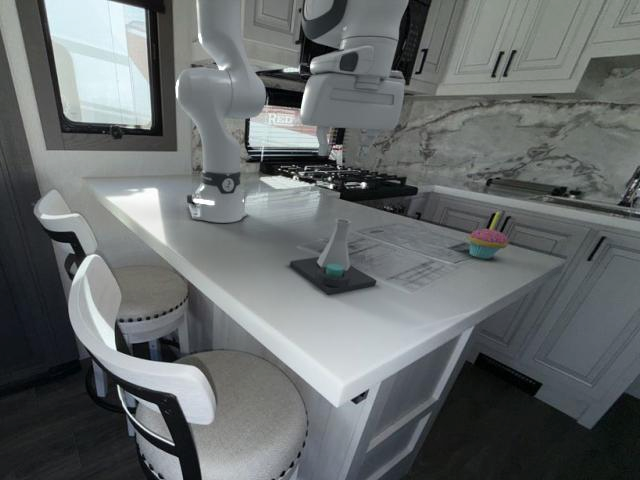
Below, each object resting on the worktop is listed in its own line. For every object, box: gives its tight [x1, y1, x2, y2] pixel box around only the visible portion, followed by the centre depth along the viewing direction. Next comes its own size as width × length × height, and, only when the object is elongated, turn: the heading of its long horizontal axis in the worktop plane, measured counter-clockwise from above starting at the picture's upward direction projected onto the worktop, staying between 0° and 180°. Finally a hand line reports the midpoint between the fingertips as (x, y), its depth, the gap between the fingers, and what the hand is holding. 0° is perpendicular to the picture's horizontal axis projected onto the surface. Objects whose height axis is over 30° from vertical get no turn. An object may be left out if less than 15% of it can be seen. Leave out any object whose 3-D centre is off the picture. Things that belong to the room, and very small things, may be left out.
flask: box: [317, 218, 352, 271], centre depth 65 cm, size 7×7×10 cm
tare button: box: [326, 264, 344, 278], centre depth 60 cm, size 3×3×2 cm
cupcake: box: [467, 208, 510, 260], centre depth 79 cm, size 9×8×12 cm
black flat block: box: [289, 256, 378, 296], centre depth 65 cm, size 14×12×3 cm
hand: (343, 155), depth 58 cm, fingers open, 8 cm apart
